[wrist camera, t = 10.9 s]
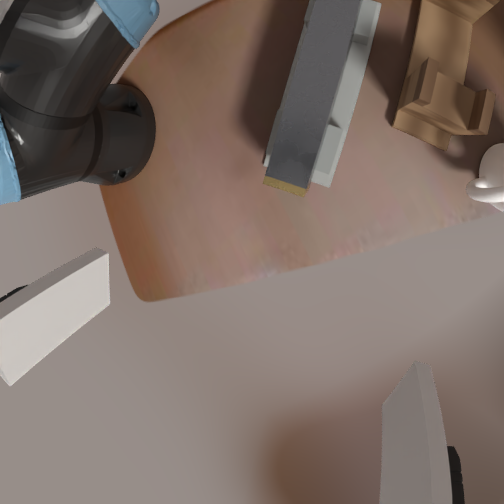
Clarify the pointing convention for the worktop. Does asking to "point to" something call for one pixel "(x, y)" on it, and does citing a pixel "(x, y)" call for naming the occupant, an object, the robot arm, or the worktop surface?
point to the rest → (345, 94)
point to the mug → (490, 178)
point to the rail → (312, 95)
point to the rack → (443, 75)
